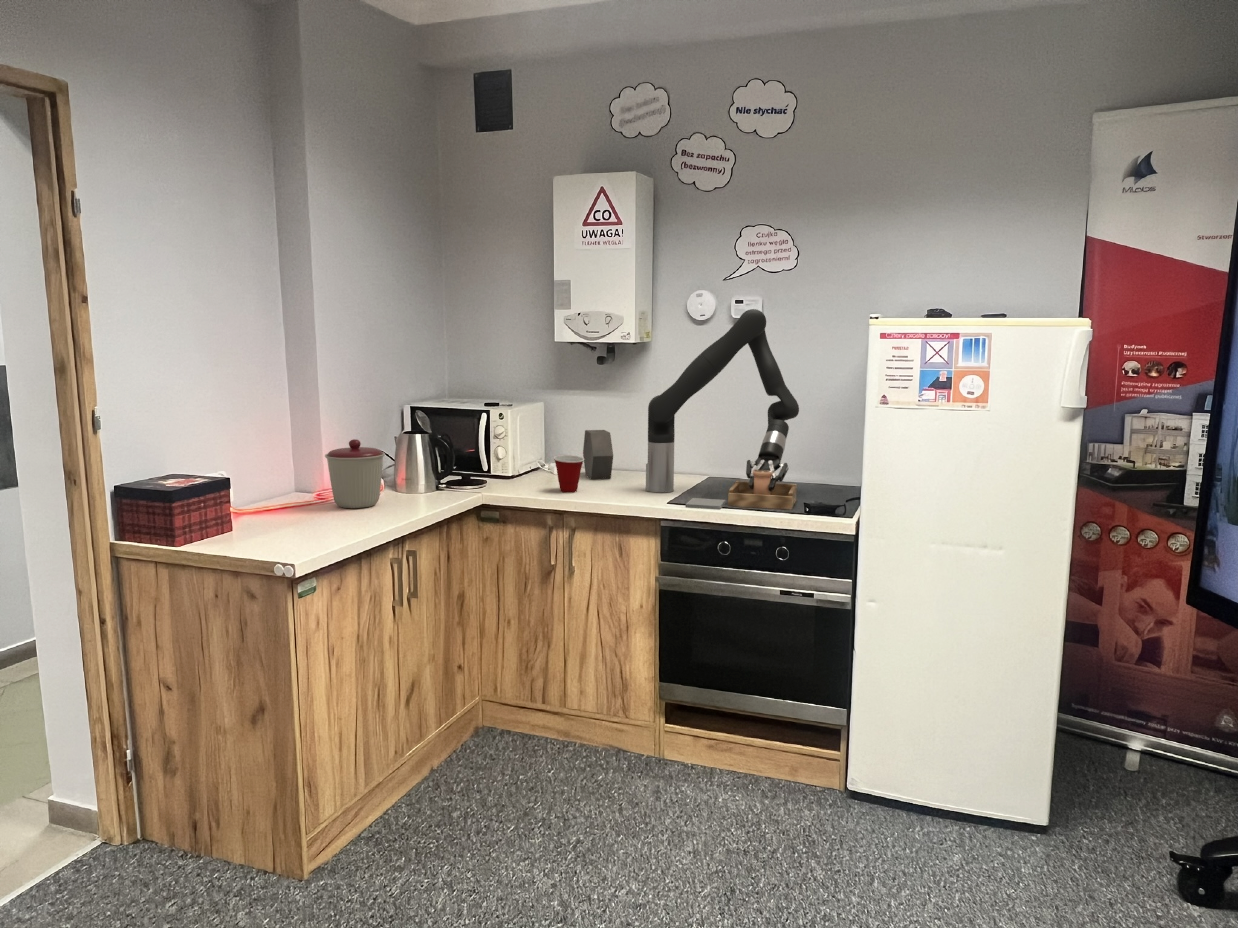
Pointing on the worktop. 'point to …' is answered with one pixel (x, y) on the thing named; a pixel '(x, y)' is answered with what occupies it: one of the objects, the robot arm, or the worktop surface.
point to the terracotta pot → (762, 482)
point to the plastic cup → (568, 471)
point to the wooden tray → (762, 496)
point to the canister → (355, 475)
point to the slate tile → (705, 503)
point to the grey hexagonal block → (598, 454)
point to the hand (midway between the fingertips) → (760, 488)
